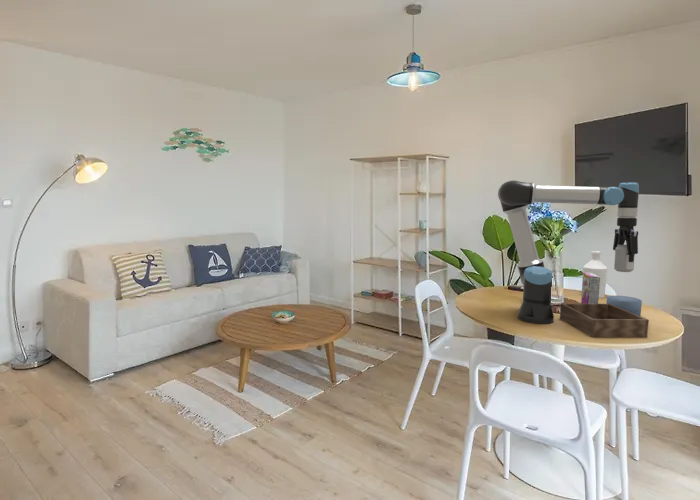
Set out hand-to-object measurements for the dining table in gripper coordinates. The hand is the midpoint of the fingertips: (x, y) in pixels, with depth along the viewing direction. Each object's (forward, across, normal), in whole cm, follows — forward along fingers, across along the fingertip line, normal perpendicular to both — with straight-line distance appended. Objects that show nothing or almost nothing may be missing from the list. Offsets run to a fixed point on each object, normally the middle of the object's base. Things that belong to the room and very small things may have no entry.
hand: (623, 267), depth 200 cm
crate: (+24, -14, +17) cm, 32 cm away
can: (+2, 0, 0) cm, 2 cm away
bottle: (+24, +46, -11) cm, 53 cm away
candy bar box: (+24, +22, +3) cm, 33 cm away
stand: (+24, +5, -4) cm, 24 cm away
